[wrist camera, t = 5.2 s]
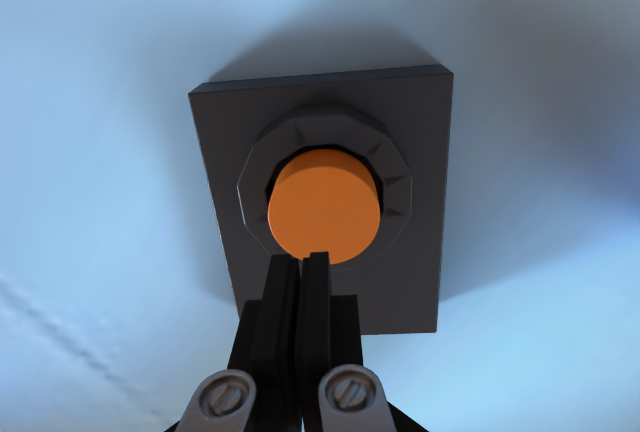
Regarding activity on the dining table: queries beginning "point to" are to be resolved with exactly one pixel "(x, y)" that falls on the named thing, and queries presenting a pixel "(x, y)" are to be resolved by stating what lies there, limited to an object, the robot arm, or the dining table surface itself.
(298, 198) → the orange push button
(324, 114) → the button base
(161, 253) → the dining table surface
